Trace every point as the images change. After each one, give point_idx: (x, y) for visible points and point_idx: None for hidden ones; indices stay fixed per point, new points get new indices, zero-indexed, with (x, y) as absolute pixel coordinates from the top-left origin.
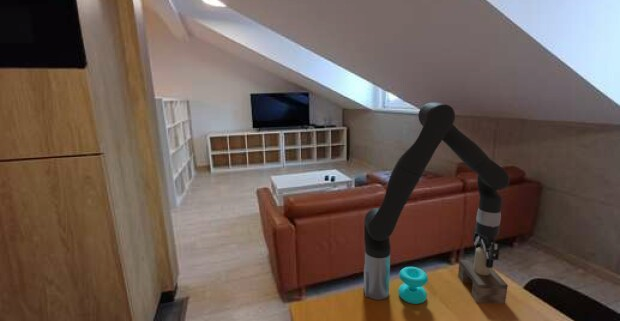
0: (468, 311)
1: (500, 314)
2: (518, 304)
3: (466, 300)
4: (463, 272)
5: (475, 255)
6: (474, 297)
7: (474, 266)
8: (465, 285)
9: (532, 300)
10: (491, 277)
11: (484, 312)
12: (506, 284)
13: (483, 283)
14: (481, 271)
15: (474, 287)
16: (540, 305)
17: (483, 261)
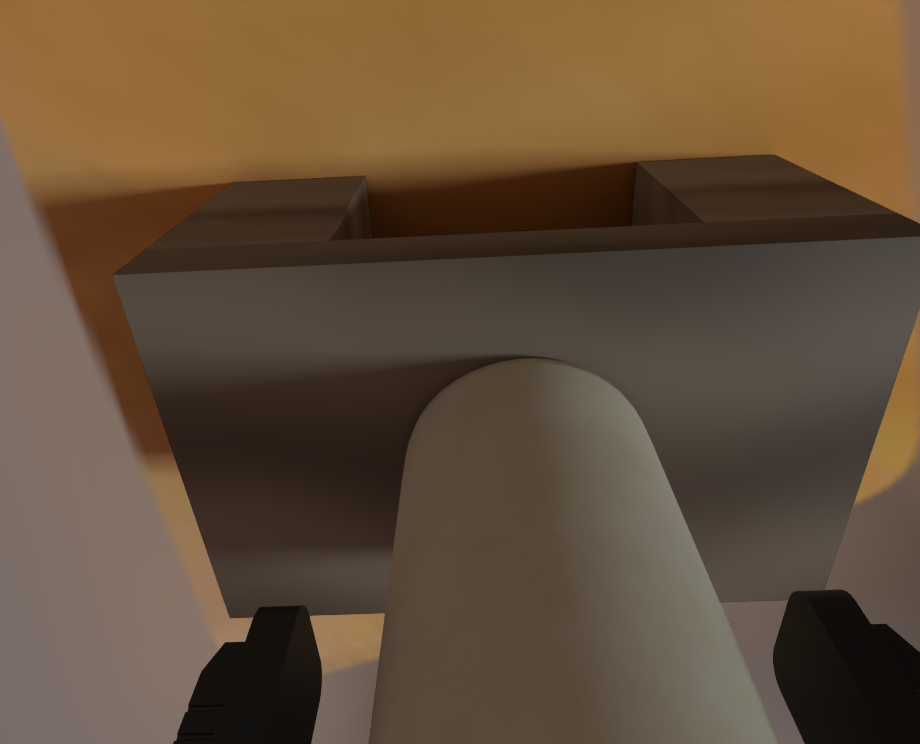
0: (24, 9)
1: (107, 350)
2: None
3: (251, 71)
4: (681, 207)
5: (609, 609)
6: (281, 187)
7: (541, 405)
8: (566, 180)
9: (375, 634)
10: (372, 520)
11: (81, 207)
12: (239, 611)
13: (177, 364)
14: (413, 457)
15: (275, 224)
16: (323, 651)
17: (388, 650)
